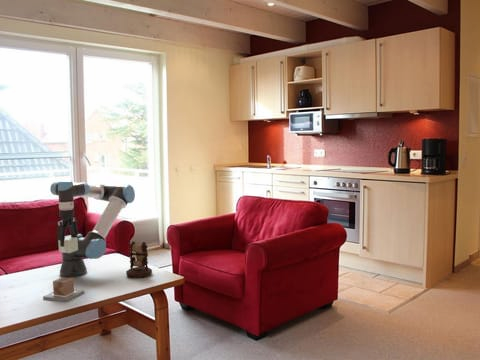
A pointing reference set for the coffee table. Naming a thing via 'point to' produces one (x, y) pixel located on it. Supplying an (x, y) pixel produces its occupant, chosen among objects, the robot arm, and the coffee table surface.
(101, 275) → the coffee table surface
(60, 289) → the walnut block
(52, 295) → the board
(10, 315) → the coffee table surface
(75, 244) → the sage block
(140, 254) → the brown upright round-based piece
